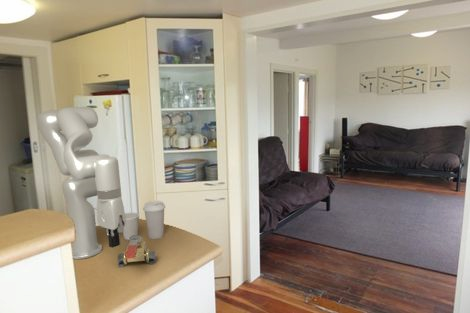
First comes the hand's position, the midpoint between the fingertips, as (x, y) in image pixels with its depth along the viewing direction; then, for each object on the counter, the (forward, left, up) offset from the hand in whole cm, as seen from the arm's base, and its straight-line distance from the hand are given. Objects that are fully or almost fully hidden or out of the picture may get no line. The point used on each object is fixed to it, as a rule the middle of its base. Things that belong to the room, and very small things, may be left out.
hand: (114, 245), depth 115 cm
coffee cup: (+11, +32, -11) cm, 35 cm away
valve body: (+6, +7, -11) cm, 14 cm away
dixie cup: (0, +33, -11) cm, 35 cm away
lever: (+6, +2, -2) cm, 7 cm away
